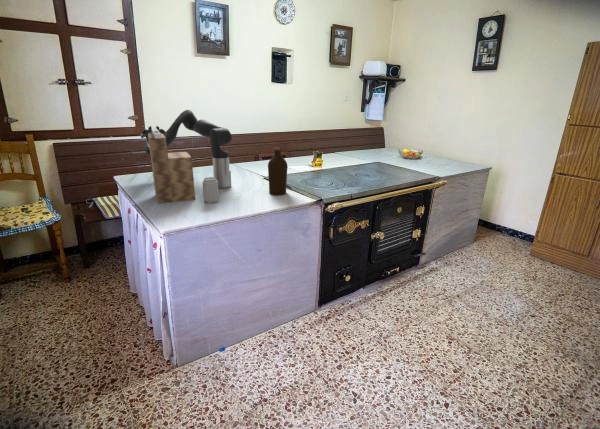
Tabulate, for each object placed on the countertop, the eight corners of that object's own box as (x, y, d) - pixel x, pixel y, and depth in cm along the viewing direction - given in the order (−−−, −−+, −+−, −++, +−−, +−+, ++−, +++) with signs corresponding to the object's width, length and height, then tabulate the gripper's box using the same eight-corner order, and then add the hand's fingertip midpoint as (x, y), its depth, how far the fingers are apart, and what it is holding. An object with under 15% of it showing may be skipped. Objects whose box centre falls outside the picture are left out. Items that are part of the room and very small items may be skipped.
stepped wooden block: (190, 191, 191) (184, 132, 180) (195, 199, 177) (189, 136, 166) (155, 194, 183) (147, 133, 172) (158, 203, 170) (149, 138, 159)
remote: (156, 131, 181) (156, 127, 180) (161, 138, 159) (160, 133, 158) (151, 131, 180) (150, 127, 179) (155, 138, 158) (154, 133, 157)
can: (204, 203, 171) (202, 180, 167) (203, 199, 178) (202, 176, 174) (219, 203, 173) (218, 179, 169) (218, 198, 180) (217, 176, 175)
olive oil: (275, 196, 184) (275, 150, 176) (264, 192, 192) (263, 147, 183) (291, 193, 191) (291, 148, 182) (279, 189, 198) (279, 145, 190)
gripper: (168, 146, 194) (169, 134, 178) (141, 147, 188) (140, 135, 172) (166, 133, 195) (167, 120, 179) (139, 134, 189) (138, 121, 173)
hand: (153, 127), depth 176 cm, fingers closed on remote, 2 cm apart
